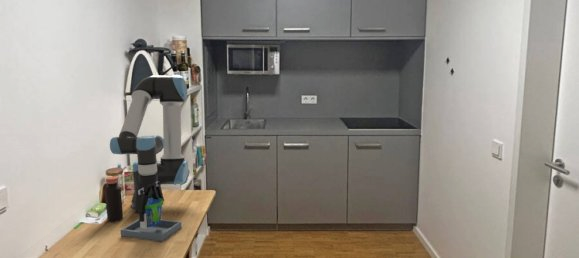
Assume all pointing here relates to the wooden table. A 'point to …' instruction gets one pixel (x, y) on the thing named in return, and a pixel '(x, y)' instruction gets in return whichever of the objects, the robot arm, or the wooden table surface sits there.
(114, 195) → the bottle
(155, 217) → the snack cup
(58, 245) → the wooden table surface
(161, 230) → the tray
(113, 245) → the wooden table surface
